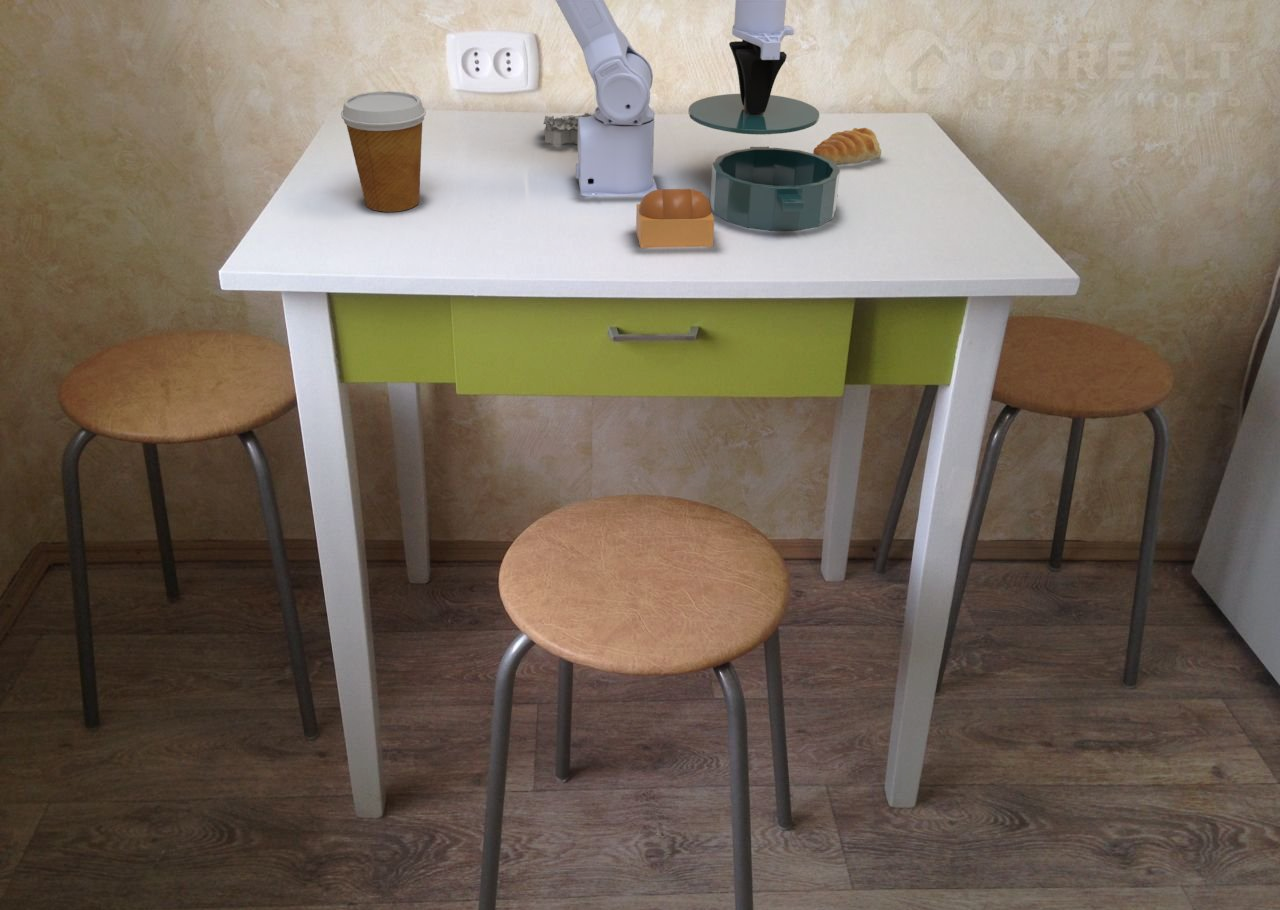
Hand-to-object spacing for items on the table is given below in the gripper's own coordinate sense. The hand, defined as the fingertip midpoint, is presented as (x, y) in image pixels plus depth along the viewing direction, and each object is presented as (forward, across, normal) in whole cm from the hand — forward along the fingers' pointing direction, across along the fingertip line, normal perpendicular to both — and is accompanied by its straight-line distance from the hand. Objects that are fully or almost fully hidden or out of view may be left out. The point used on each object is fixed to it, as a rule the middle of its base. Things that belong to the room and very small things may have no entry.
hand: (753, 108), depth 136 cm
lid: (+1, 0, 0) cm, 1 cm away
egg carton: (+10, +22, +19) cm, 31 cm away
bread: (+10, -16, +11) cm, 22 cm away
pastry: (+11, +12, -16) cm, 23 cm away
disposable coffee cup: (+10, -1, +43) cm, 45 cm away
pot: (+10, -7, -2) cm, 13 cm away
